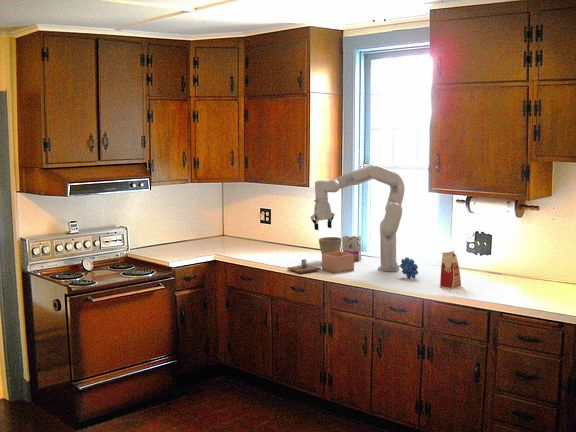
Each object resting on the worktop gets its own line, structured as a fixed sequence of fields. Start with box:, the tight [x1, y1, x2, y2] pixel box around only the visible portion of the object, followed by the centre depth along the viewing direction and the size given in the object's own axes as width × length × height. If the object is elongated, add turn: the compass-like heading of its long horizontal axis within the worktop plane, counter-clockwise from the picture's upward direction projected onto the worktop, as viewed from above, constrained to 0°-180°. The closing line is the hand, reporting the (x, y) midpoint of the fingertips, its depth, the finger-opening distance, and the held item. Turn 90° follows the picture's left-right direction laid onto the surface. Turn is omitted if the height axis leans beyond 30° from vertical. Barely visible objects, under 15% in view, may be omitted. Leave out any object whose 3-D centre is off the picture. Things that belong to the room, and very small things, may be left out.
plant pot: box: [318, 236, 343, 255], centre depth 421 cm, size 15×15×16 cm
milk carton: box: [439, 250, 462, 291], centre depth 350 cm, size 9×9×20 cm
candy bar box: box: [342, 234, 362, 262], centre depth 428 cm, size 11×5×16 cm, turn 62°
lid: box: [287, 258, 322, 274], centre depth 401 cm, size 15×15×7 cm
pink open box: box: [321, 250, 355, 275], centre depth 400 cm, size 14×14×10 cm
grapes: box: [399, 256, 419, 279], centre depth 373 cm, size 12×7×12 cm, turn 49°
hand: (323, 228), depth 398 cm, fingers open, 9 cm apart
